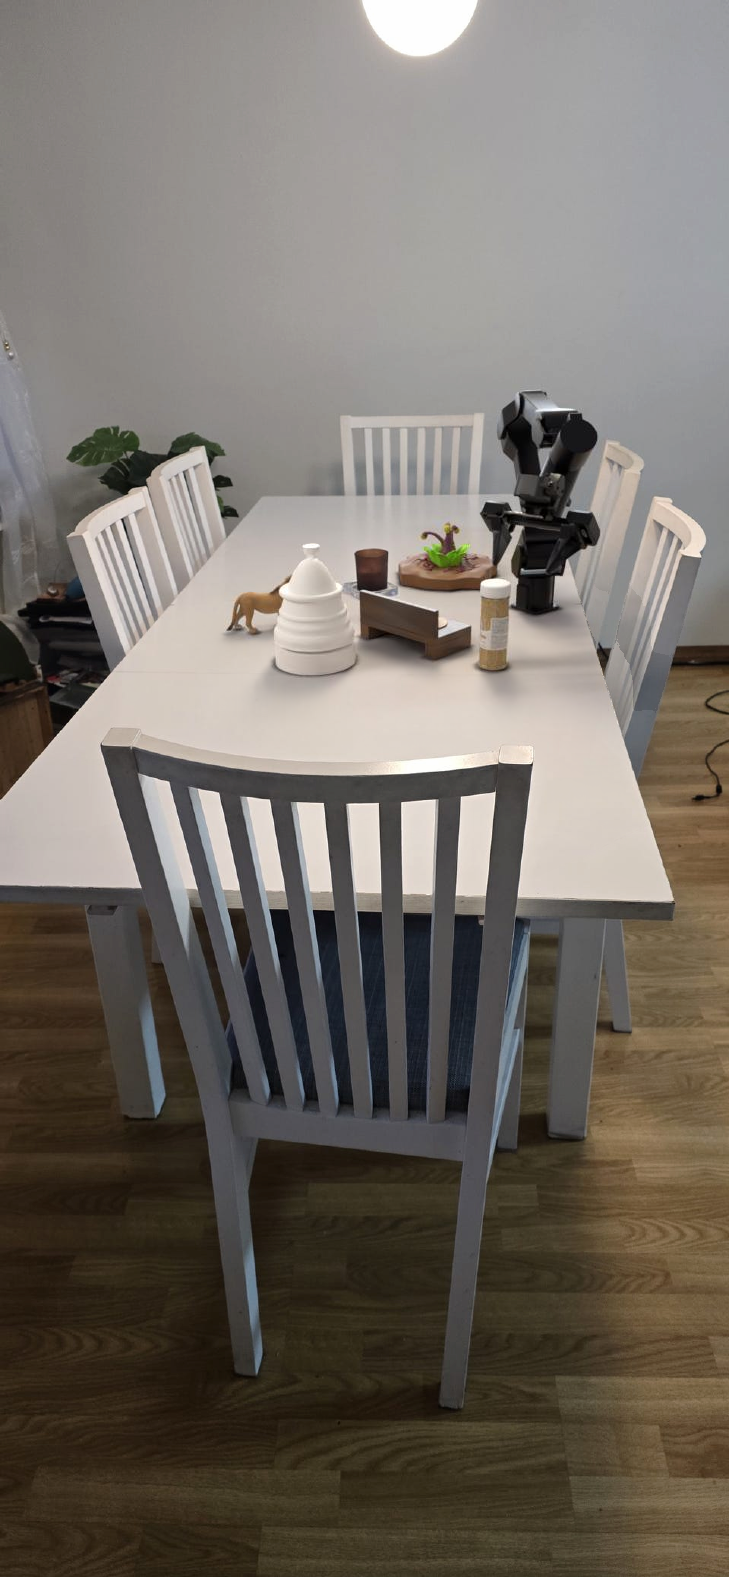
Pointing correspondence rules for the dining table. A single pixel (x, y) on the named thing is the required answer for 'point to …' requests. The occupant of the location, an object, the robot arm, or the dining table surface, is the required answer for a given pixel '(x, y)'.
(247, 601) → the lion figurine
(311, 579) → the honey pot
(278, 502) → the dining table surface
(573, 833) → the dining table surface
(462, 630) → the miniature wooden bench
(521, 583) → the robot arm
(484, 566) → the plant
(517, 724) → the dining table surface
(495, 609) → the sprinkles bottle
